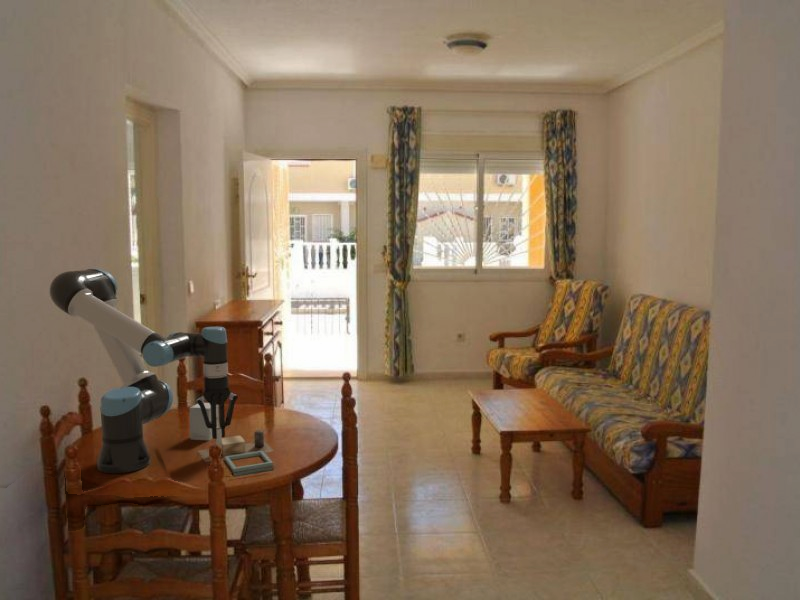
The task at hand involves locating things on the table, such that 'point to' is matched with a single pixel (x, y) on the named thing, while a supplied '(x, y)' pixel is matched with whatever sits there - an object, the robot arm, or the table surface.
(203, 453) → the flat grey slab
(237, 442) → the beige wooden block
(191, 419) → the supplement box
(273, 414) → the table surface
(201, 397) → the robot arm
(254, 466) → the grey-green flat square frame
